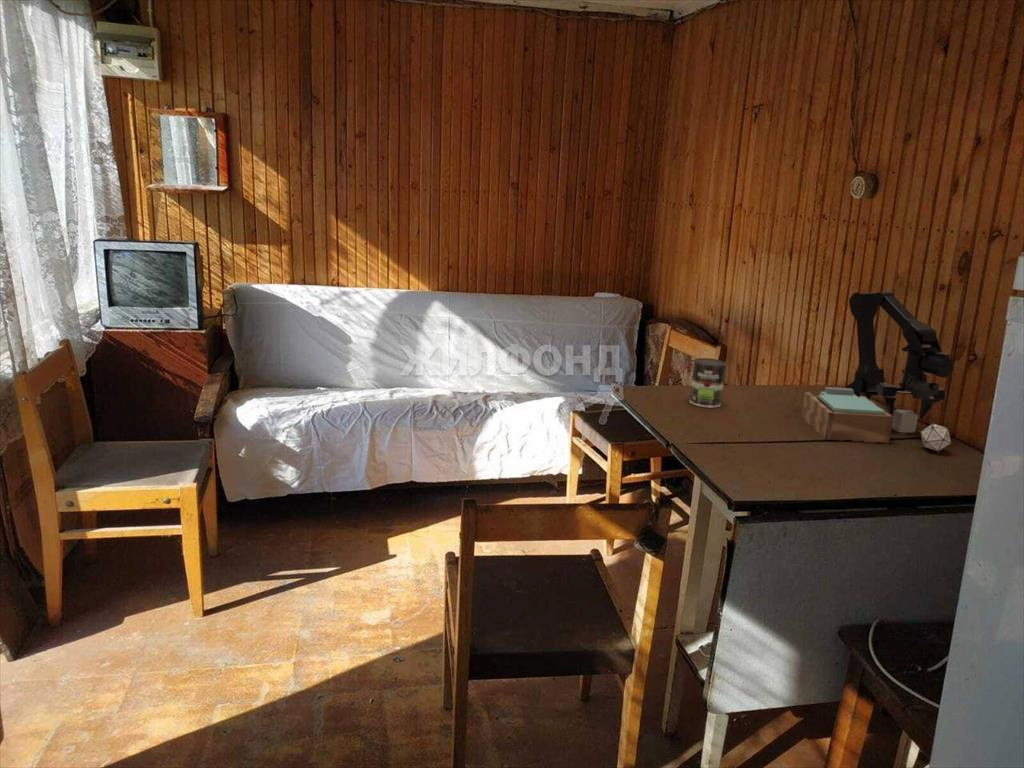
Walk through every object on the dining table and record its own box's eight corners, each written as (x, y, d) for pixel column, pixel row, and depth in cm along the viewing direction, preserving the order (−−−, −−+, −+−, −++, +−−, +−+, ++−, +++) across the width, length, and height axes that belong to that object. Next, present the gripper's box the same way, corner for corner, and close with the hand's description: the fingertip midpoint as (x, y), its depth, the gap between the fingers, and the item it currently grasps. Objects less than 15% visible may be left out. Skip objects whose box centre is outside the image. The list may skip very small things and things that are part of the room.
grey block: (891, 428, 242) (895, 409, 240) (907, 429, 241) (911, 410, 240) (898, 433, 237) (902, 414, 235) (914, 434, 237) (918, 415, 235)
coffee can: (720, 409, 251) (726, 367, 247) (687, 405, 254) (692, 363, 250) (721, 401, 261) (727, 360, 257) (690, 397, 263) (695, 356, 260)
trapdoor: (814, 394, 245) (815, 386, 244) (859, 396, 244) (860, 388, 243) (834, 411, 227) (835, 402, 226) (883, 414, 227) (884, 405, 226)
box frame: (801, 416, 248) (805, 392, 246) (860, 420, 248) (864, 396, 246) (824, 439, 227) (828, 413, 225) (888, 443, 227) (893, 417, 225)
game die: (924, 460, 226) (919, 427, 229) (957, 456, 221) (952, 423, 225) (918, 452, 219) (913, 418, 223) (953, 448, 214) (947, 413, 218)
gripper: (895, 373, 226) (885, 424, 231) (960, 377, 226) (949, 428, 230) (879, 364, 237) (870, 413, 241) (941, 368, 237) (931, 417, 241)
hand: (905, 418), depth 238 cm, fingers open, 9 cm apart
